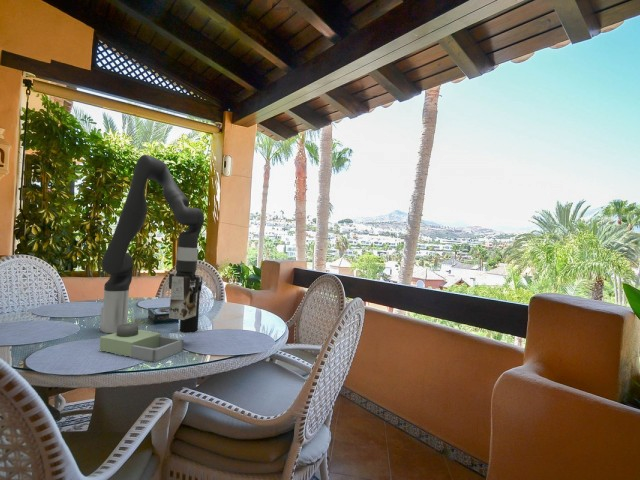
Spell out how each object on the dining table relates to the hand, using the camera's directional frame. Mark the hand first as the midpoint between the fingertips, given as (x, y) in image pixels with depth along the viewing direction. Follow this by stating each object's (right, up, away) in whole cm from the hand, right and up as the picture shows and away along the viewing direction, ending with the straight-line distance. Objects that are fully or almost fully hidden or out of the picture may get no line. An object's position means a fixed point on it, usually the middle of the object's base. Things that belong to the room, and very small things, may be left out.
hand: (183, 301), depth 144 cm
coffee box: (0, -6, 0) cm, 6 cm away
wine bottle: (-5, -16, +21) cm, 27 cm away
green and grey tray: (-11, -16, -10) cm, 22 cm away
